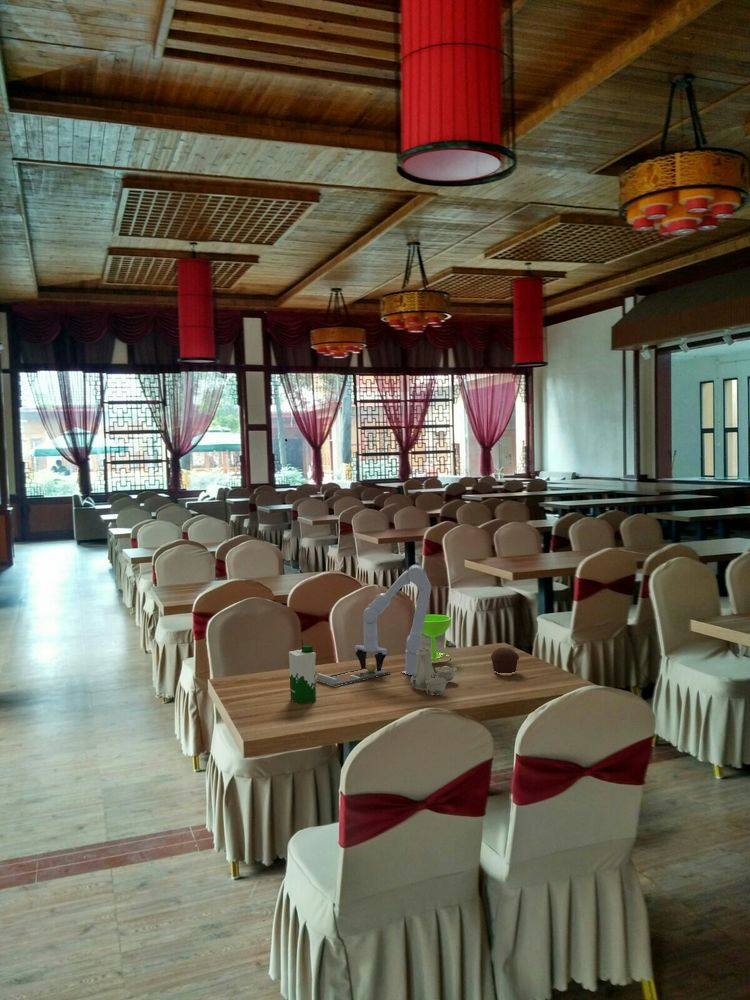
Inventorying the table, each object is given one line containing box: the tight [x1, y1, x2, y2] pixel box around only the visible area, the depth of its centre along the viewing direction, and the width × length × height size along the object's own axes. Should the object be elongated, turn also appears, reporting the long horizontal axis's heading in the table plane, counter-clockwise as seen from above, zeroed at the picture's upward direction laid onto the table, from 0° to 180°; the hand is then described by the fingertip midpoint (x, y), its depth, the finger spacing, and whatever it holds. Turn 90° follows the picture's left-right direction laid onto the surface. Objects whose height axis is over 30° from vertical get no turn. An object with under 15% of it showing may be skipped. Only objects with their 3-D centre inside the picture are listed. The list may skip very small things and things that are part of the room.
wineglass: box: [422, 614, 452, 661], centre depth 355 cm, size 16×16×18 cm
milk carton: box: [288, 644, 317, 705], centre depth 297 cm, size 9×9×20 cm
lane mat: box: [316, 667, 391, 687], centre depth 327 cm, size 12×28×3 cm, turn 129°
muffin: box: [490, 647, 520, 673], centre depth 330 cm, size 12×11×10 cm
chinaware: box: [410, 645, 457, 696], centre depth 310 cm, size 28×17×17 cm, turn 168°
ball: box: [366, 662, 377, 672], centre depth 333 cm, size 4×4×4 cm
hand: (371, 669), depth 333 cm, fingers open, 7 cm apart
